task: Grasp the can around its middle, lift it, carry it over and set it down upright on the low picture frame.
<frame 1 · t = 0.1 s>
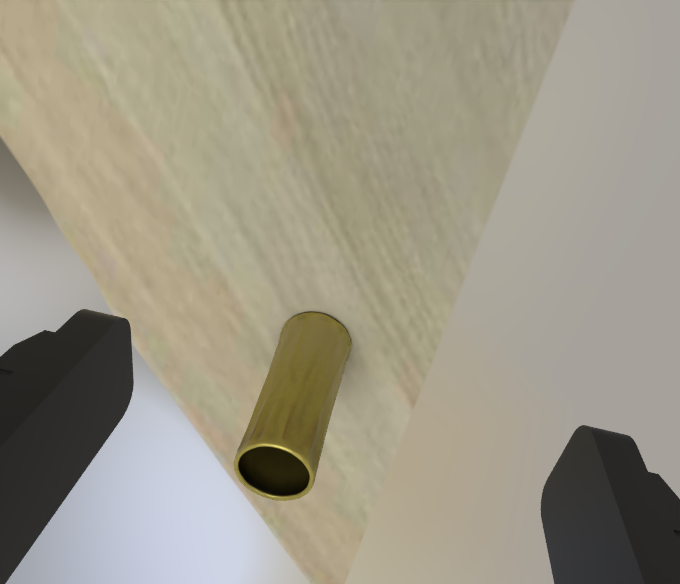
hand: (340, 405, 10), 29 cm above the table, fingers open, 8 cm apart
vase: (316, 339, 46), on the table
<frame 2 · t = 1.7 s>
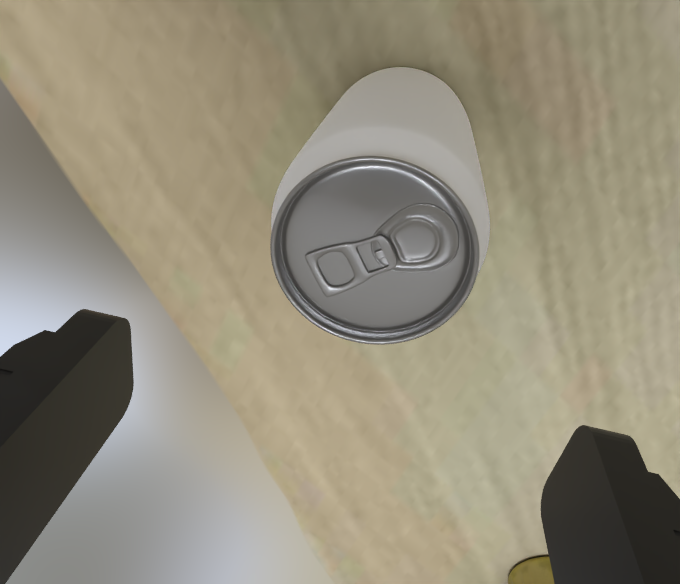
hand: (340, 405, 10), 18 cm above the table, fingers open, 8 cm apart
can: (398, 139, 25), on the table
vase: (550, 577, 39), on the table
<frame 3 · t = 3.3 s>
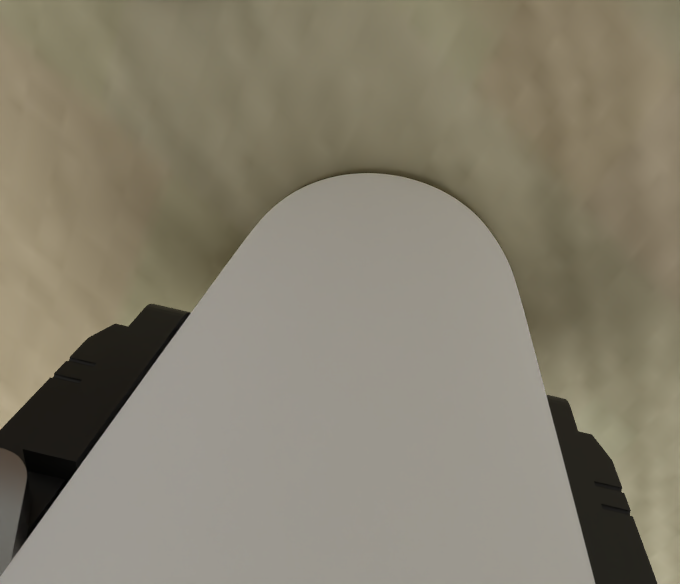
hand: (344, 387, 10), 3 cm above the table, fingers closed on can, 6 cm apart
can: (373, 294, 13), on the table, touching gripper
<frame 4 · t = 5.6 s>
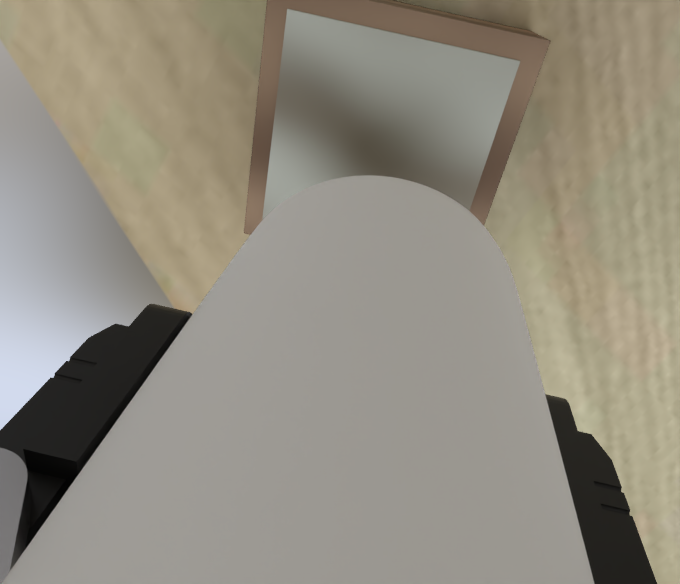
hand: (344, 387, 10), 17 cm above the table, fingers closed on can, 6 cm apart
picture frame: (384, 125, 24), on the table
can: (373, 295, 13), point 14 cm above the table, touching gripper
when the fingers open (8 cm above the table, at t = 8.0 s): can stays where it is, resting on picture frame.
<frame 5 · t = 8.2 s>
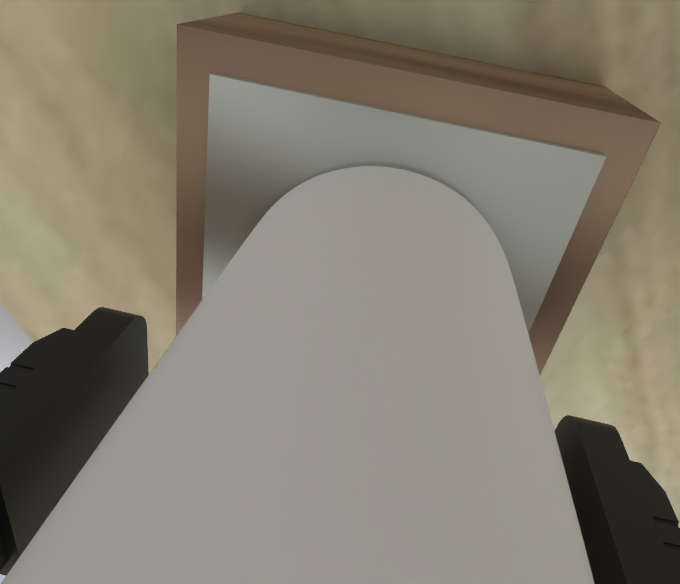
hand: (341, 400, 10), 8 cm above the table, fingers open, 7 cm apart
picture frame: (380, 219, 17), on the table
can: (375, 283, 13), point 4 cm above the table, touching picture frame
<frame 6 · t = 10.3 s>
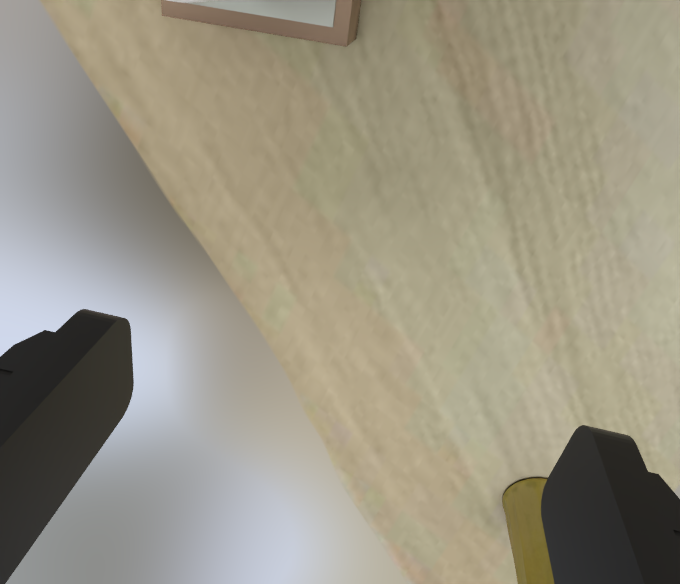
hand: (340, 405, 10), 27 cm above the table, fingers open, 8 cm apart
vase: (536, 498, 48), on the table
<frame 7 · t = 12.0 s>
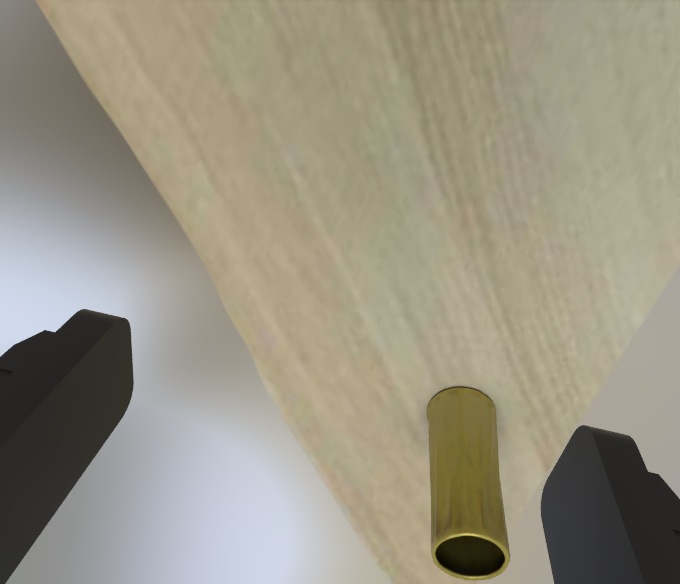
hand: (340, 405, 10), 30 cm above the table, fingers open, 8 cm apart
vase: (460, 410, 48), on the table
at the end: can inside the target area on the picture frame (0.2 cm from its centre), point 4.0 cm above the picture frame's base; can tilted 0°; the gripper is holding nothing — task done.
